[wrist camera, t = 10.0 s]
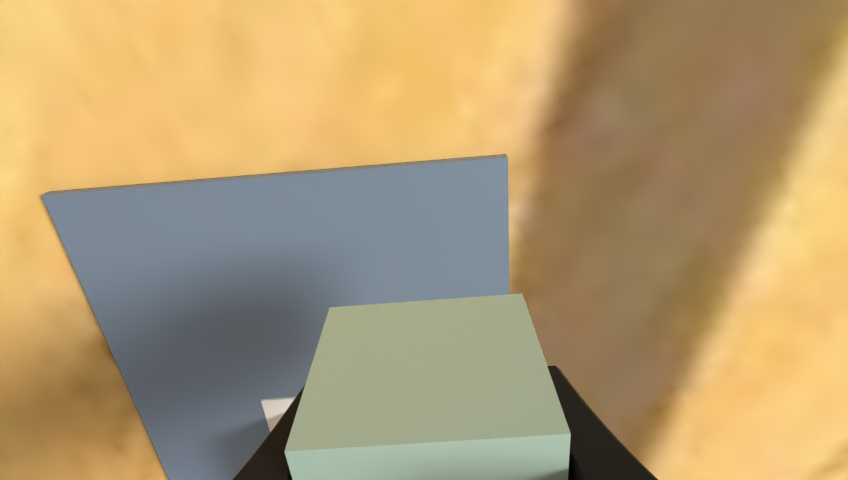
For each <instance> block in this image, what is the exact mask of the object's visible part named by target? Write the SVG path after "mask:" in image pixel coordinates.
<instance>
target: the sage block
mask: <svg viewBox="0 0 848 480" xmlns="http://www.w3.org/2000/svg"><path fill="white" fill-rule="evenodd" d="M570 438H571V433H570V430H569V427H568V424H567V422H566V419H565V416H564V413H563V410H562V407H561V404H560V401H559V398H558V396H557V393H556V390H555V387H554V384H553V381H552V378H551V375H550V372H549V370H548V367H547V364H546V361H545V358H544V355H543V352H542V349H541V346H540V344H539V341H538V338H537V335H536V332H535V329H534V326H533V323H532V320H531V318H530V315H529V312H528V309H527V306H526V303H525V300H524V297H523V294H509V295H495V296H481V297H467V298H453V299H439V300H425V301H412V302H398V303H384V304H370V305H356V306H342V307H330V308H329V311H328V314H327V317H326V320H325V323H324V327H323V330H322V333H321V336H320V339H319V343H318V346H317V349H316V352H315V355H314V359H313V362H312V365H311V368H310V371H309V374H308V378H307V381H306V384H305V387H304V390H303V394H302V397H301V400H300V403H299V406H298V410H297V413H296V416H295V419H294V422H293V425H292V429H291V432H290V435H289V438H288V441H287V445H286V448H285V451H284V452H285V456H286V459H287V463H288V466H289V469H290V473H291V476H292V480H568V470H569V454H570Z"/></svg>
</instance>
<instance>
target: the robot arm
mask: <svg viewBox="0 0 848 480" xmlns="http://www.w3.org/2000/svg"><path fill="white" fill-rule="evenodd" d="M547 367H548V370H549V372H550V375H551V378H552V381H553V384H554V387H555V390H556V393H557V396H558V398H559V401H560V404H561V407H562V410H563V413H564V416H565V419H566V422H567V424H568V427H569V430H570V433H571V438H570V454H569V470H568V480H658V479H657V478H656V477H655V476H654V475H653V474H652V473H651V472H649V471H648V470H647V469H646V468H645V467H644V466H643V465H642V464H641V463H640V462H639V461H638V460H637V459H636V458H635V457H634V456H633V455H632V454H631V453H630V452H629V451H628V450H627V448H626V447H625V446H624V445H623V444H622V443H621V442H620V441H619V440H618V439H617V438H616V437H615V436H614V435H613V433H612V432H611V431H610V430H609V429H608V428H607V427H606V426H605V425H604V423H603V422H602V421H601V420H600V419H599V418H598V417H597V416H596V414H595V413H594V412H593V411H592V410H591V409H590V407H589V406H588V405H587V404H586V403H585V401H584V400H583V399H582V398H581V396H580V395H579V394H578V393H577V391H576V390H575V389H574V388H573V386H572V385H571V384H570V383H569V381H568V380H567V379H566V377H565V376H564V375H563V373H562V372H561V370H560V369H559V368H557V367H556V366H547ZM304 387H305V385H304V386H303V388H302V389H301V391H300V392H299V393H298V395H297V396H296V398H295V399H294V400H293V402H292V403H291V405H290V406H289V408H288V409H287V410H286V412H285V413H284V415H283V416H282V417H281V419H280V420H279V421H278V423H277V424H276V426H275V427H274V428H273V430H272V431H271V432H270V434H269V435H268V436H267V437H266V439H265V440H264V441H263V443H262V444H261V445H260V447H259V448H258V449H257V450H256V452H255V453H254V454H253V456H252V457H251V458H250V459H249V461H248V462H247V463H246V464H245V465H244V467H243V468H242V469H241V470H240V471H239V473H238V474H237V475H236V476H235V477H234V478H233V480H292V476H291V473H290V469H289V466H288V463H287V459H286V456H285V452H284V451H285V448H286V445H287V441H288V438H289V435H290V432H291V429H292V425H293V422H294V419H295V416H296V413H297V410H298V406H299V403H300V400H301V397H302V394H303V390H304Z"/></svg>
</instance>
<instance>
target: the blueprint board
mask: <svg viewBox="0 0 848 480" xmlns="http://www.w3.org/2000/svg"><path fill="white" fill-rule="evenodd" d="M41 196H42V199H43V201H44V203H45V205H46V208H47V210H48V212H49V214H50V216H51V219H52V221H53V223H54V225H55V228H56V230H57V232H58V234H59V237H60V239H61V241H62V243H63V245H64V248H65V250H66V252H67V254H68V257H69V259H70V261H71V263H72V266H73V268H74V270H75V272H76V274H77V277H78V279H79V281H80V283H81V286H82V288H83V290H84V292H85V295H86V297H87V299H88V301H89V303H90V306H91V308H92V310H93V312H94V315H95V317H96V319H97V321H98V324H99V326H100V328H101V330H102V332H103V335H104V337H105V339H106V341H107V344H108V346H109V348H110V350H111V353H112V355H113V357H114V359H115V361H116V364H117V366H118V368H119V370H120V373H121V375H122V377H123V379H124V382H125V384H126V386H127V388H128V390H129V393H130V395H131V397H132V399H133V402H134V404H135V406H136V408H137V411H138V413H139V415H140V417H141V419H142V422H143V424H144V426H145V428H146V431H147V433H148V435H149V437H150V440H151V442H152V444H153V446H154V448H155V451H156V453H157V455H158V457H159V460H160V462H161V464H162V466H163V469H164V471H165V473H166V475H167V477H168V480H233V478H234V477H235V476H236V475H237V474H238V473H239V471H240V470H241V469H242V468H243V467H244V465H245V464H246V463H247V462H248V461H249V459H250V458H251V457H252V456H253V454H254V453H255V452H256V450H257V449H258V448H259V447H260V445H261V444H262V443H263V441H264V440H265V439H266V437H267V436H268V435H269V434H270V432H271V431H272V430H273V428H274V427H275V426H276V424H277V423H278V421H279V420H280V419H281V417H282V416H283V415H284V413H285V412H286V410H287V409H288V408H289V406H290V405H291V403H292V402H293V400H294V399H295V398H296V396H297V395H298V393H299V392H300V391H301V389H302V388H303V386H304V385H305V384H306V381H307V378H308V374H309V371H310V368H311V365H312V362H313V359H314V355H315V352H316V349H317V346H318V343H319V339H320V336H321V333H322V330H323V327H324V323H325V320H326V317H327V314H328V311H329V308H330V307H342V306H356V305H370V304H384V303H398V302H412V301H425V300H439V299H453V298H467V297H481V296H495V295H509V231H508V157H507V155H506V154H503V155H491V156H478V157H466V158H454V159H442V160H429V161H417V162H405V163H393V164H381V165H368V166H356V167H344V168H332V169H320V170H307V171H295V172H283V173H271V174H259V175H246V176H234V177H222V178H210V179H197V180H185V181H173V182H161V183H149V184H136V185H124V186H112V187H100V188H88V189H75V190H63V191H51V192H47V193H45V194H43V195H41Z"/></svg>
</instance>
